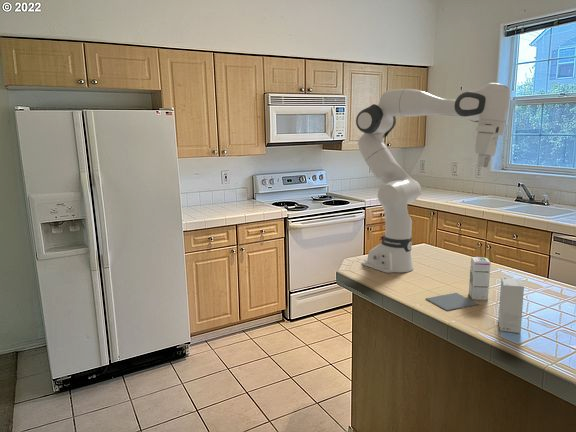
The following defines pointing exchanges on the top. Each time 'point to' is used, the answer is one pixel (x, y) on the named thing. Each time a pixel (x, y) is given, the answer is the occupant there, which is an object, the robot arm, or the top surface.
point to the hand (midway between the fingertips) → (482, 167)
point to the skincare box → (511, 305)
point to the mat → (452, 301)
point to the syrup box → (479, 278)
